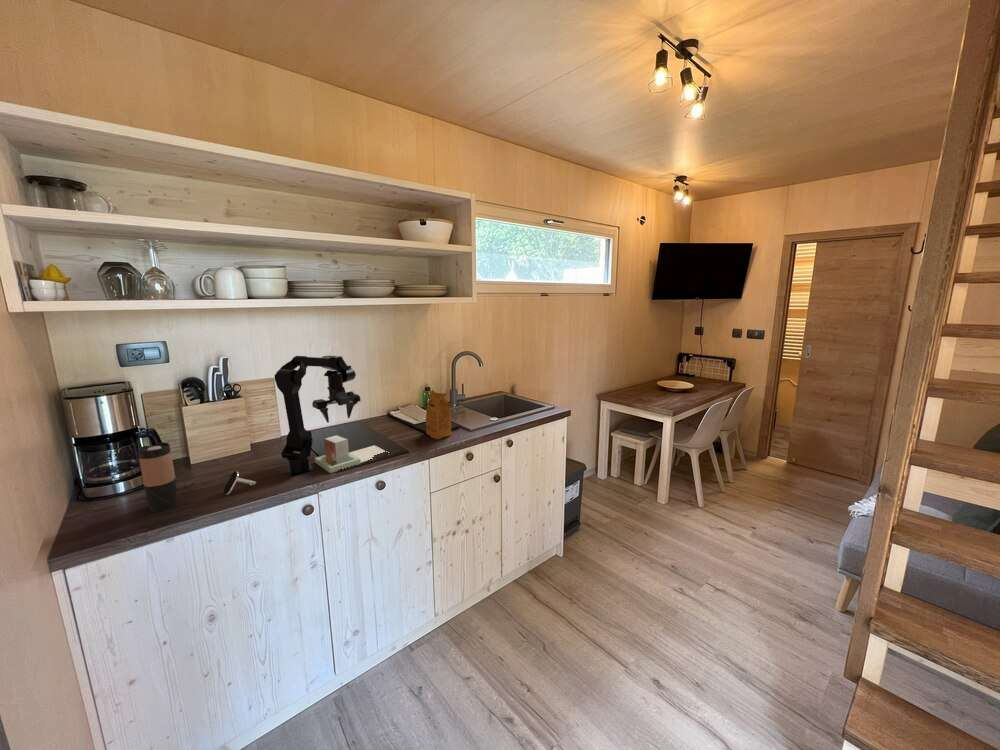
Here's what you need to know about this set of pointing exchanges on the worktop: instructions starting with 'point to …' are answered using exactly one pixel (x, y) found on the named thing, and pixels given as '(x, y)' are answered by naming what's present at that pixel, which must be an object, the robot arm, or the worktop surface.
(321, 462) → the pocket frame
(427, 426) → the coffee package
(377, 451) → the plate
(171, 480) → the travel mug
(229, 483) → the rubber stamp
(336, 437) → the small box
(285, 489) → the worktop surface
